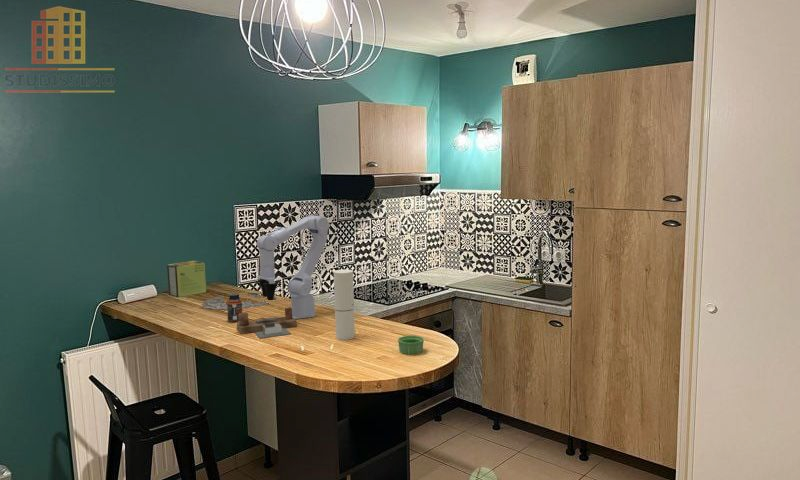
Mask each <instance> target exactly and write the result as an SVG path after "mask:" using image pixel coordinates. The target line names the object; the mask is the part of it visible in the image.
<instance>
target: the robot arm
mask: <svg viewBox="0 0 800 480" xmlns="http://www.w3.org/2000/svg"><path fill="white" fill-rule="evenodd" d="M330 225H331V224H330V223H329V219H328V218H327V217H326V216H324V215H314V214H309V215H308V216H305V217H303V218H302V219H300V220H298V221H296V222H295V223H293V224H291V225H289V226H288V227H282V226H278V227H277V228H276V230H274V231H272V232H267V235H261V236H259V238H258V239H257V241H256V243H255V244H256V246H257V248H258V251H259V252H258V253H259V276H257V283H259V286H260V288H261V289H260V290H261V294H263V297H267V299H268V300H273V299H274V297H275V295H276V294H275V293H276V289H277V288H278V285H279V283H278V282H275V279H276V275H275V273H276V272H275V249H276V248H277V246H278V245H281V244H283V243H284V242H288V241H289V240H290V238H291V236H292V235H295V234H297V233H298V232H301V231H304V230H305V229H307V231H308V232H309V233H310V234H311V236H312V238H313V239H312V241H311V244H310V245H309V248H308V250H307V253H306V255H305V257H304V260H303V262H302V265H301V266H300V268H299V271H298V272H297V273H294V275H293V277H292V279H290V280H289V282H288V284H287V290H288V292H289V294H290V298H291V299H290V302H291V303H290V304H291V305H290V307H291V308H292V317H293V318H294V319H295V320H297V319H298V320H299V319H306V318H314V317H316V310H315V309H316V307H315V306H316V304H315V298H314V295H313V294H311V292H312V285H313V283H314V282H313V278H312V276H313V273H314V270H315V268H316V266H317V264H318V261H319V259H320V257H321V254H322V252H323V250H324V248H325V245H326V243H327V241H328V230H329V228H330Z"/></svg>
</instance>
